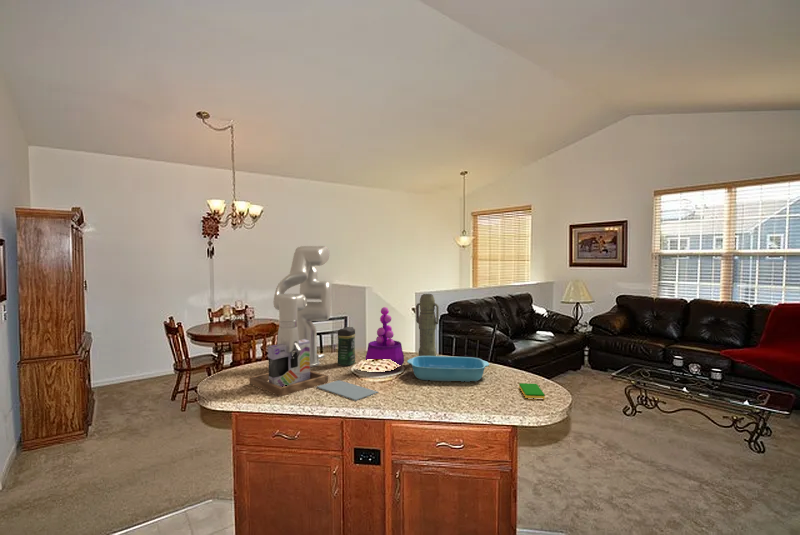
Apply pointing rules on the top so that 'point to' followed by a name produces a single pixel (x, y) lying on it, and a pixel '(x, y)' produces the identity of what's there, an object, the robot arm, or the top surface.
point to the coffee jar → (346, 346)
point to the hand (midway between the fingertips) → (288, 365)
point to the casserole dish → (448, 368)
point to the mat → (347, 390)
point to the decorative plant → (385, 342)
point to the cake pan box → (288, 364)
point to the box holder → (281, 391)
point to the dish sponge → (531, 390)
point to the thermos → (427, 324)
